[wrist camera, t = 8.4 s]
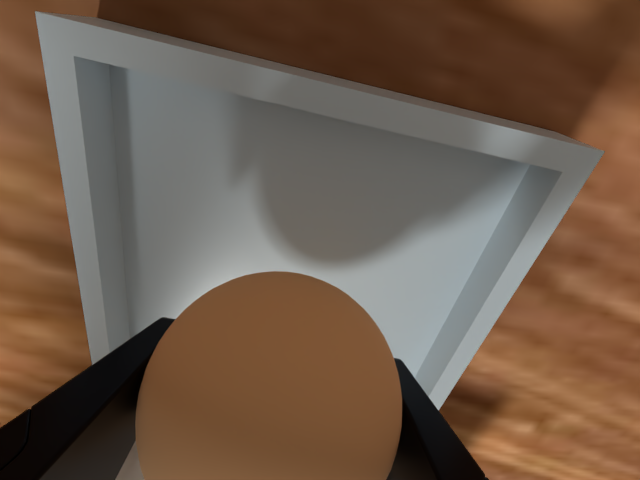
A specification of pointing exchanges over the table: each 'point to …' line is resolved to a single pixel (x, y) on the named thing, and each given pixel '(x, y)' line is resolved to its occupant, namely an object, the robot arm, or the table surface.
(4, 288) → the table surface
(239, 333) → the ball
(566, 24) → the table surface
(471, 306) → the tray
